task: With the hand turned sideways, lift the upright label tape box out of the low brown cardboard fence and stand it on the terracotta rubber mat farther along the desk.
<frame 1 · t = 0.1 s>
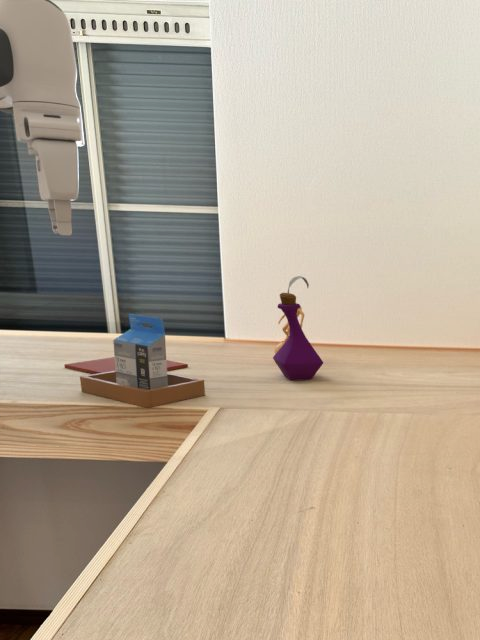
hand: (62, 234, 108), 24 cm above the table, tool pointing down, fingers open, 8 cm apart
figurine: (289, 362, 150), on the table
cardboard fence: (143, 393, 119), on the table
rubber mat: (127, 367, 139), on the table
perfume bottle: (298, 378, 135), on the table
label tape box: (143, 394, 120), resting in cardboard fence
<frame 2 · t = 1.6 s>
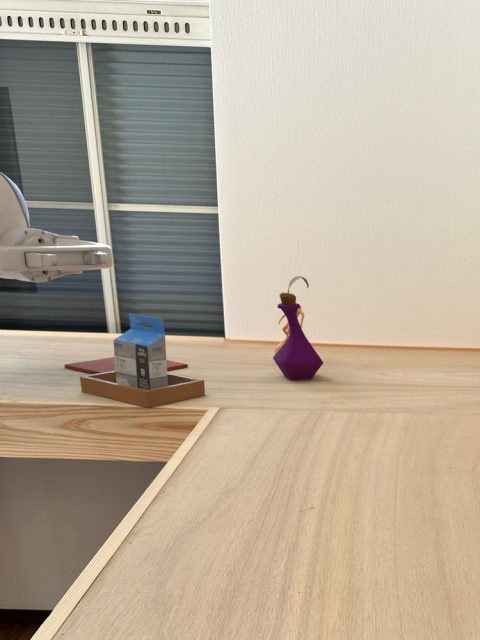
hand: (79, 260, 119), 20 cm above the table, tool horizontal, fingers open, 8 cm apart
nothing on the table moved.
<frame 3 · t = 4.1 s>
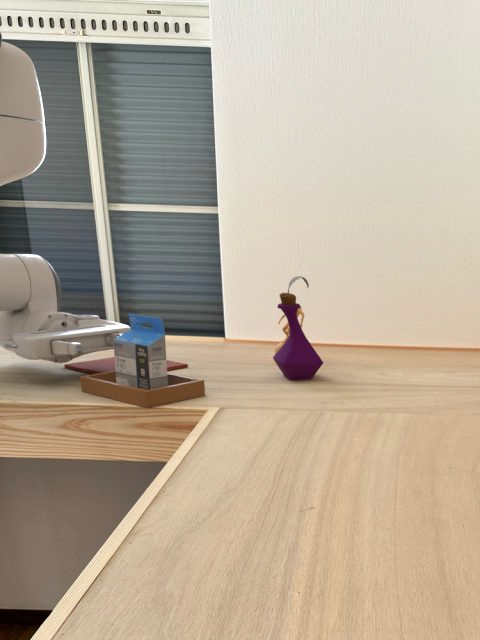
hand: (103, 346, 122), 7 cm above the table, tool horizontal, fingers open, 8 cm apart
nothing on the table moved.
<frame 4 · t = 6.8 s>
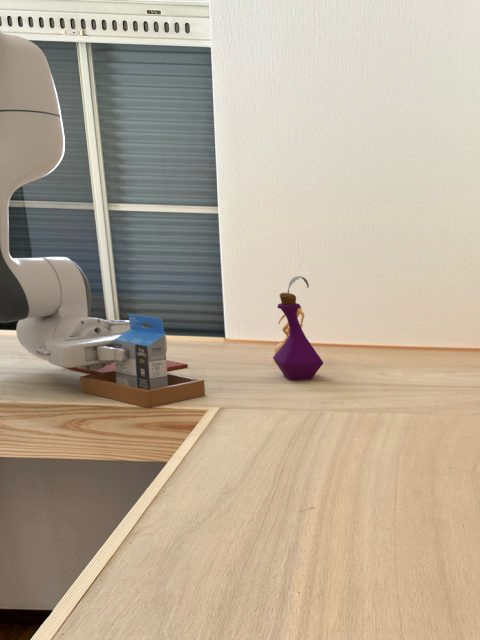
hand: (139, 353, 117), 7 cm above the table, tool horizontal, fingers closed on label tape box, 4 cm apart
label tape box: (143, 394, 120), resting in cardboard fence, touching gripper
everything else where it was.
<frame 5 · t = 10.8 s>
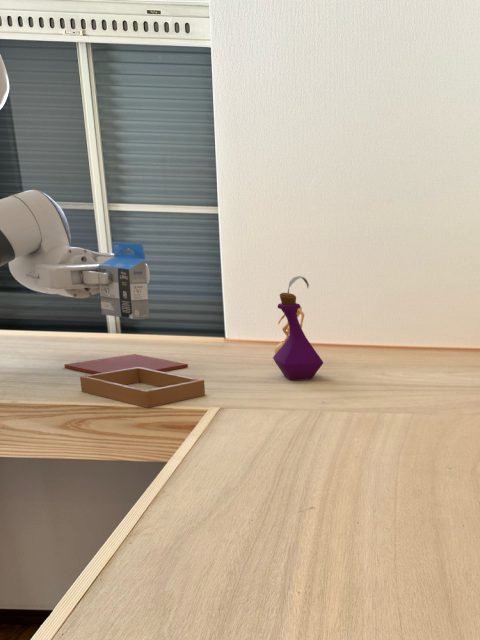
hand: (122, 278, 126), 17 cm above the table, tool horizontal, fingers closed on label tape box, 4 cm apart
label tape box: (126, 318, 128), point 10 cm above the table, touching gripper
everything else where it was.
when the fingers open (7 cm above the table, at t = 14.9 s): label tape box stays where it is, resting on rubber mat.
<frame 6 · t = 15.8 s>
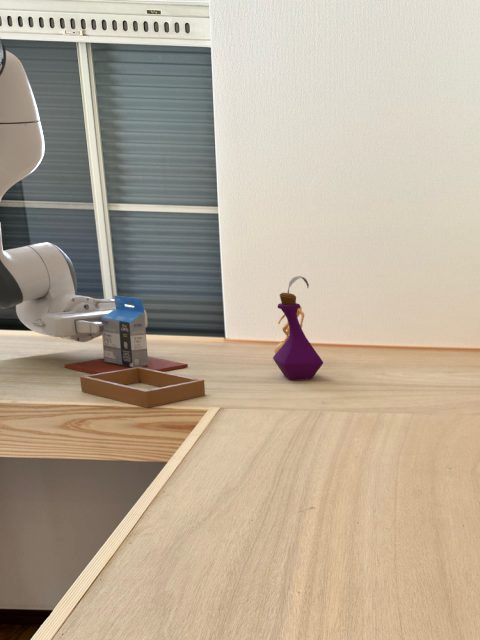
hand: (122, 325, 136), 8 cm above the table, tool horizontal, fingers open, 8 cm apart
label tape box: (127, 365, 139), resting on rubber mat
everything else where it was.
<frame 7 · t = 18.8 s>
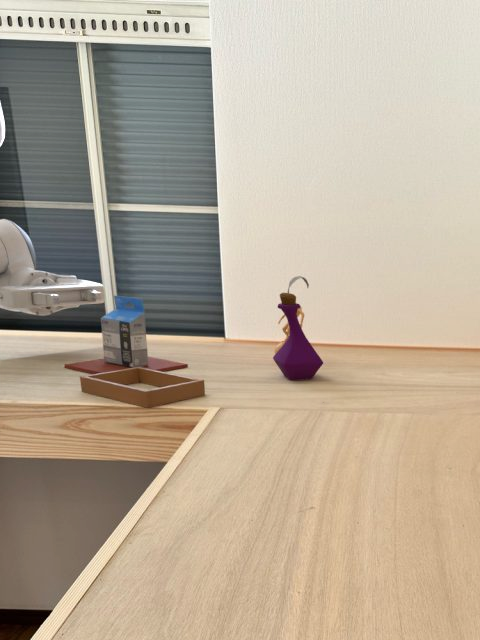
hand: (77, 298, 141), 12 cm above the table, tool horizontal, fingers open, 8 cm apart
nothing on the table moved.
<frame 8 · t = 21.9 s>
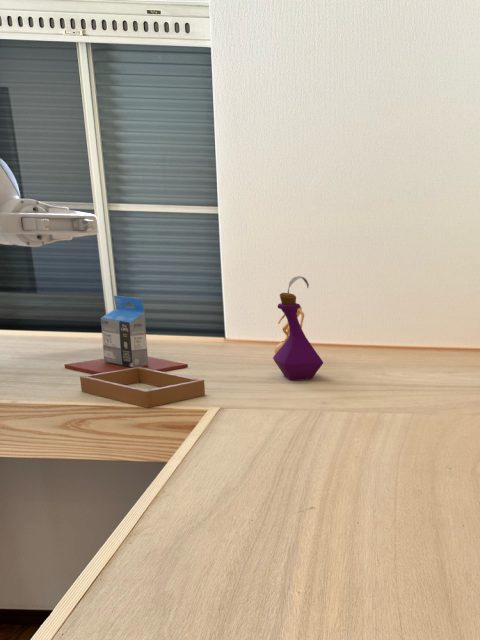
hand: (69, 224, 137), 25 cm above the table, tool horizontal, fingers open, 8 cm apart
nothing on the table moved.
at the end: label tape box inside the target area on the rubber mat (0.1 cm from its centre), point 0.4 cm above the rubber mat's base; label tape box tilted 0°; the gripper is holding nothing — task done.
